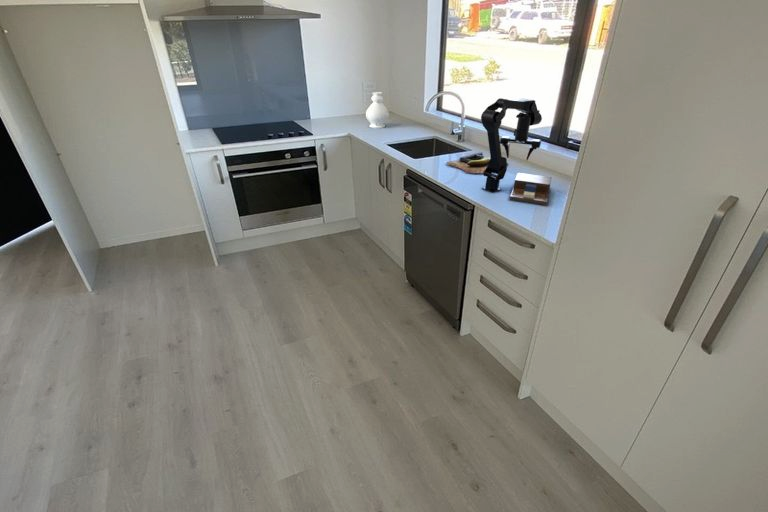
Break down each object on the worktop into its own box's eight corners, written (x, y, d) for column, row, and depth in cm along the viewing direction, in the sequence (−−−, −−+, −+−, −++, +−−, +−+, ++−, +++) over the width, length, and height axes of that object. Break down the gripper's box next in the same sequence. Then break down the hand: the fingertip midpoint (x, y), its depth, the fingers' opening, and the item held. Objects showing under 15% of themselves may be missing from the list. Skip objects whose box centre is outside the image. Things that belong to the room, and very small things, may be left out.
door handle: (500, 157, 233) (478, 150, 243) (479, 164, 222) (457, 156, 232) (498, 163, 235) (477, 155, 245) (478, 169, 224) (456, 161, 233)
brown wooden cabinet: (545, 205, 177) (548, 193, 174) (509, 200, 182) (511, 187, 179) (548, 188, 196) (551, 177, 193) (515, 184, 201) (517, 172, 198)
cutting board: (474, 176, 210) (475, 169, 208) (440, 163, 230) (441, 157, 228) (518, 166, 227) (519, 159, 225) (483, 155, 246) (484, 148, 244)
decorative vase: (377, 129, 304) (377, 95, 292) (361, 126, 314) (360, 92, 302) (392, 126, 316) (393, 92, 303) (376, 123, 326) (376, 90, 313)
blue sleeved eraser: (533, 198, 179) (535, 190, 177) (523, 196, 180) (524, 188, 178) (535, 192, 186) (537, 183, 184) (525, 190, 188) (526, 182, 186)
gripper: (545, 125, 192) (538, 157, 200) (506, 122, 199) (501, 152, 207) (542, 130, 183) (536, 163, 191) (502, 126, 190) (497, 158, 198)
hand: (517, 159), depth 197 cm, fingers open, 9 cm apart
